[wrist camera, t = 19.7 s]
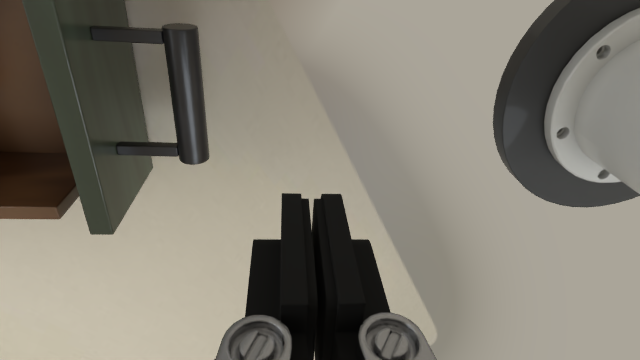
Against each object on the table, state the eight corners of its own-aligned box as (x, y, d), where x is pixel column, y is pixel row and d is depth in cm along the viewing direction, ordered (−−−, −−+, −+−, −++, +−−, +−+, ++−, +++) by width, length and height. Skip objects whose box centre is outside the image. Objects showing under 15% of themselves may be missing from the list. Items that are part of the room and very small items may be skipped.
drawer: (208, -55, 21) (174, -53, 15) (224, 169, 28) (205, 235, 22) (-201, -84, 19) (-440, -97, 13) (-76, 162, 26) (-192, 233, 20)
